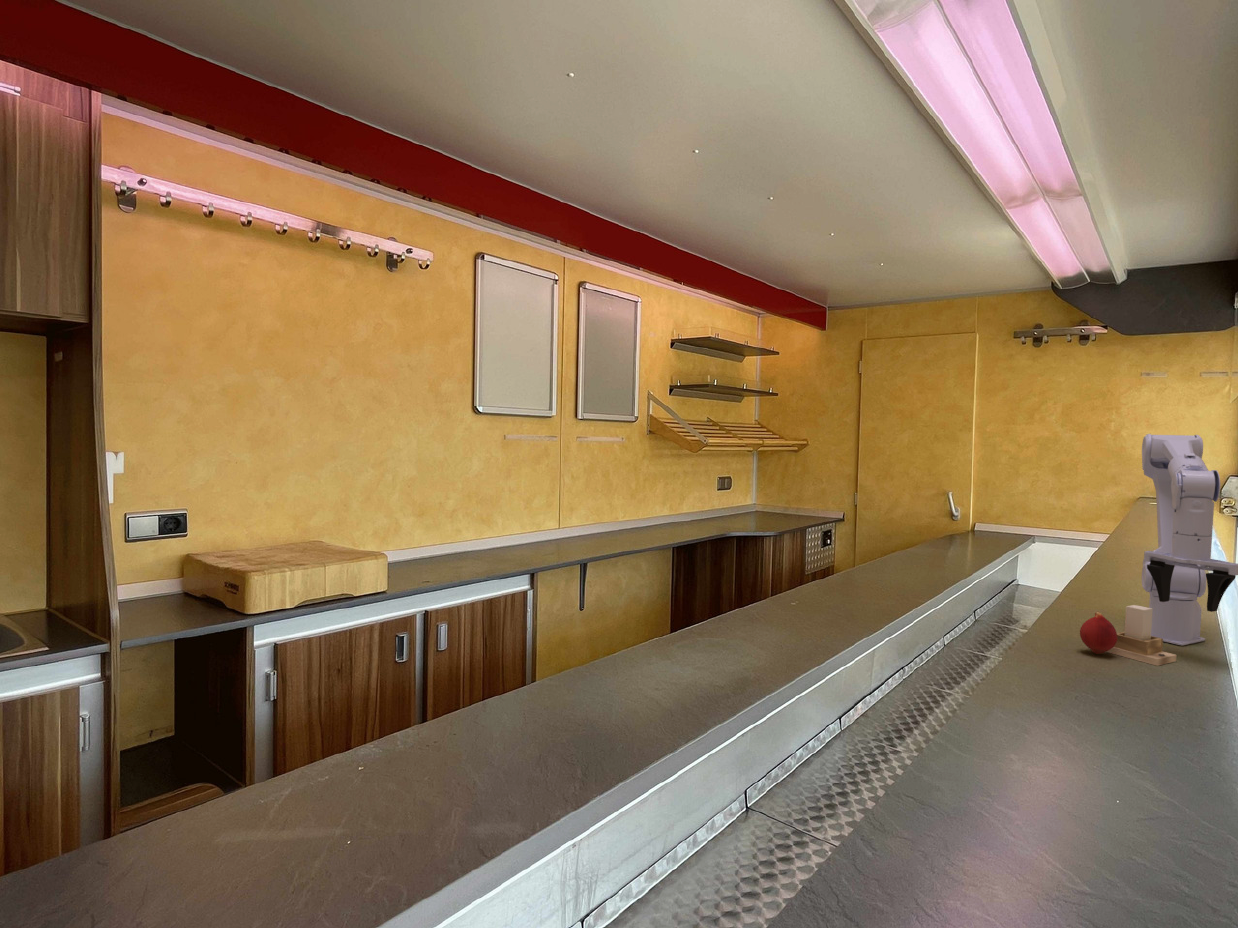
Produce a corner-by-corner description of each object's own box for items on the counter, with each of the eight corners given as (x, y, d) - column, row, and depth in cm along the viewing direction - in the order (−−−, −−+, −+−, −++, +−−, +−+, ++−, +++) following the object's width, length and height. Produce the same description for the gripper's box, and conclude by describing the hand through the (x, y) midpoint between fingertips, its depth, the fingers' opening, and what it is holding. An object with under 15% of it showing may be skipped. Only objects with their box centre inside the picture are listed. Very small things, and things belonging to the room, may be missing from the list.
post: (1132, 645, 134) (1134, 604, 133) (1150, 650, 131) (1152, 608, 131) (1123, 647, 132) (1126, 606, 132) (1141, 652, 130) (1143, 610, 129)
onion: (1104, 650, 135) (1107, 609, 134) (1123, 659, 129) (1125, 617, 129) (1072, 648, 135) (1075, 607, 135) (1089, 657, 130) (1092, 615, 129)
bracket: (1117, 645, 138) (1118, 627, 138) (1176, 661, 129) (1177, 641, 129) (1098, 649, 135) (1099, 630, 135) (1157, 665, 126) (1158, 645, 126)
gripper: (1137, 529, 135) (1132, 598, 135) (1229, 541, 122) (1224, 617, 122) (1156, 528, 138) (1152, 595, 138) (1248, 539, 125) (1243, 613, 125)
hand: (1187, 605), depth 131 cm, fingers open, 7 cm apart
